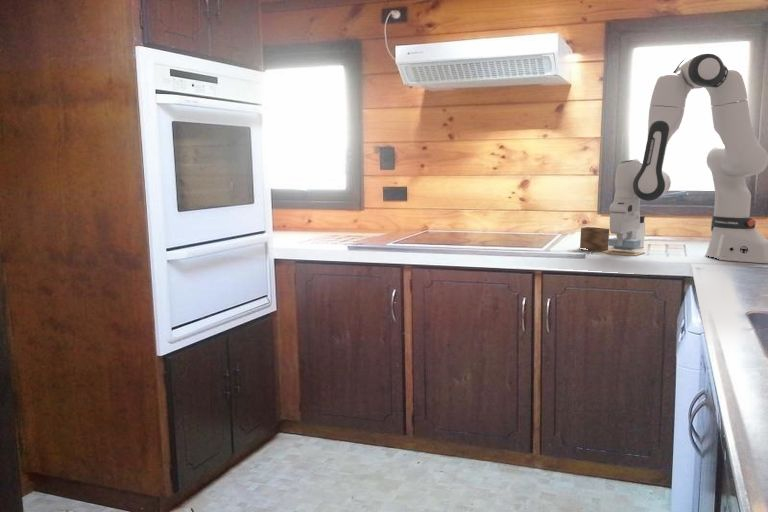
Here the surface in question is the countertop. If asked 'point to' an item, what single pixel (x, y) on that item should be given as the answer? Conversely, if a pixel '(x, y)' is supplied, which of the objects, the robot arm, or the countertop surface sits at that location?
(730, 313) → the countertop surface
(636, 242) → the lid
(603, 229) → the box
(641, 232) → the jar
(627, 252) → the mat
